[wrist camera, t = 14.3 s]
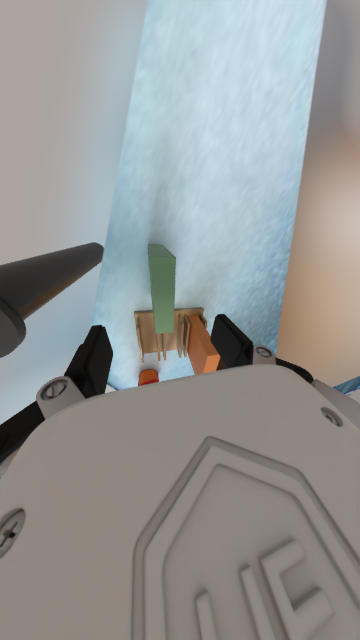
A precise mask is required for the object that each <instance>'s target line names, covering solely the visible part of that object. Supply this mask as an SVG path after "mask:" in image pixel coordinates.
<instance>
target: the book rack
mask: <svg viewBox="0 0 360 640" xmlns="http://www.w3.org/2000/svg"><path fill="white" fill-rule="evenodd" d="M203 312H204V309H203V308H188V309H174V327H173V332H171V333H161V334H155V327H154V316H153V311H139V312H134V316H135V322H136V330H137V336H138V342H139V348H140V354H141V360H142V363H144V353H152V352H158V361H160V351H163V357H164V360H166V351H168V350H176V349H177V351H178V354H179V358H181V355H182V350H183V354H184V357H186V355H187V347H188V338H189V330H190V322H189V320H188V316H192V315H198V317H199V318H200V320H201V322H202V323H203V325H204V327H205V328H206V327H207V321H206V319H205V318H204V316H203Z"/></svg>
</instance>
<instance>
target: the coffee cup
mask: <svg viewBox="0 0 360 640" xmlns="http://www.w3.org/2000/svg"><path fill="white" fill-rule="evenodd" d="M157 382H159V379H158V374H157V372H156V371H155V370H151V369H149V370H145V371H143V372H141V373H140V375H139V382H138V386H142V385H147V384H152V383H157Z"/></svg>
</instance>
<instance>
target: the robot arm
mask: <svg viewBox="0 0 360 640" xmlns="http://www.w3.org/2000/svg"><path fill="white" fill-rule="evenodd" d="M210 340H211V343H212V344H213V346H214V347H215V349H216V351H217V352H218V354H219V355H220V357H221V359H222V360H223V362H224V363H225V365H226V366H227V368H228V369H223V370H218V371H213V372H208V373H202V374H197V375H192V376H187V377H182V378H177V379H172V380H167V381H162V382H157V383H152V384H147V385H142V386H137V387H132V388H127V389H123V390H118V391H113V392H109V393H105V389H106V385H107V380H108V376H109V371H110V367H111V362H112V357H113V350H112V347H111V344H110V341H109V338H108V335H107V332H106V329H105V327H102V325H95V326H92V327H91V329H90V331H89V333H88V335H87V337H86V339H85V341H84V343H83V344H81V345H80V346H79V348H78V350H77V351H76V353H75V355H74V357H73V359H72V361H71V363H70V365H69V367H68V368H67V371H66V372H65V374H64V376H63V377H57V378H54V379H52V380H50V381H49V382H47V383H46V384H45V385H44V386H42V387H41V389H40V390H39V391H38V392H37V395H36V401H35V402H33V403H32V404H30V405H29V406H27V407H26V408H24V409H23V410H22V411H20V412H19V413H17V414H16V415H14V416H13V417H11V418H10V419H8V420H7V421H6V422H4V423H3V424H1V425H0V640H360V404H359V403H358V402H356V401H355V400H353V399H352V398H350V397H348V396H346V395H344V394H343V393H341V392H339V391H337V390H335V389H334V388H332V387H330V386H328V385H326V384H325V383H323V382H321V381H319V380H317V379H316V380H314V379H313V377H312V375H311V374H310V373H309V372H308V371H306V370H305V369H303V368H301V367H299V366H297V365H294V364H291V363H289V362H286V361H283V360H281V359H278V358H276V357H275V355H274V353H273V351H272V350H270V349H269V348H267V347H265V346H262V345H256V346H253V342H252V341H251V340H250V339H249V338H248V337H247V336H246V335H245V334H244V333H243V332H242V331H241V330H240V329H239V328H238V327H237V326H236V325H235V324H234V323H233V322H232V321H231V320H230V319H229V318H228V317H227V316H226V315H225V314H218V315H217V316H216V317H215V321H214V325H213V329H212V333H211V338H210Z"/></svg>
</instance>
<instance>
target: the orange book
mask: <svg viewBox="0 0 360 640" xmlns="http://www.w3.org/2000/svg"><path fill="white" fill-rule="evenodd" d="M188 320H189V322H190V330H189V338H188V347H187V353H188V356H189V358H190V361H191V364H192V367H193V370H194V373H195V375H197V374H202V373H208V372H213V371H216V369H217V366H218V363H219V360H220V355H219V354H218V352H217V351H216V349H215V347H214V346H213V344H212V343H211V340H210V338H211V336H210V335H209V333H208V331H207V330H206V328H205V327H204V325H203V323H202V322H201V320H200V318H199V317H198V315H192V316H188Z"/></svg>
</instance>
